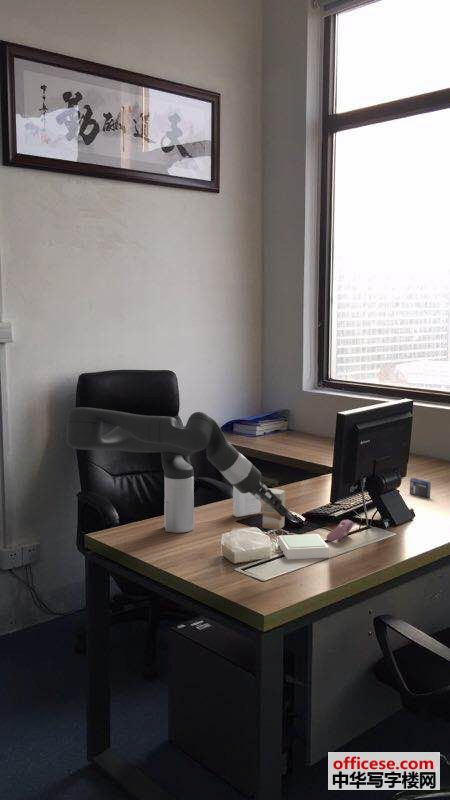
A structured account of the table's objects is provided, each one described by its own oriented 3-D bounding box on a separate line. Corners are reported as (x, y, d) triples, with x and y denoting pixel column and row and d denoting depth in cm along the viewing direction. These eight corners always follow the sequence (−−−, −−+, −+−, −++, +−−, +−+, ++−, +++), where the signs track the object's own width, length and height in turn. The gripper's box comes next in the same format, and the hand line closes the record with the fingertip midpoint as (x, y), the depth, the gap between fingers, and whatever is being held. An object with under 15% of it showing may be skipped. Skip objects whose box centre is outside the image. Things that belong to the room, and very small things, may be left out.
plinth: (287, 559, 203) (287, 548, 203) (278, 545, 215) (278, 535, 215) (329, 557, 205) (329, 546, 205) (317, 543, 217) (318, 533, 216)
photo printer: (255, 510, 252) (255, 475, 250) (262, 513, 248) (263, 478, 246) (230, 515, 246) (230, 479, 244) (238, 518, 242) (238, 482, 241)
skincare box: (261, 527, 195) (262, 491, 194) (267, 523, 199) (267, 487, 198) (280, 530, 193) (280, 493, 192) (285, 525, 197) (285, 489, 196)
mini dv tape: (409, 493, 274) (410, 478, 273) (412, 493, 275) (412, 477, 274) (427, 498, 267) (428, 482, 266) (430, 497, 268) (430, 481, 267)
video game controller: (336, 548, 217) (347, 529, 215) (324, 539, 219) (334, 521, 217) (348, 539, 226) (358, 521, 223) (336, 530, 228) (346, 512, 225)
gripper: (220, 476, 196) (259, 514, 202) (241, 489, 183) (282, 528, 189) (238, 455, 197) (276, 493, 204) (260, 467, 184) (301, 507, 190)
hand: (279, 510), depth 196 cm, fingers closed on skincare box, 6 cm apart
